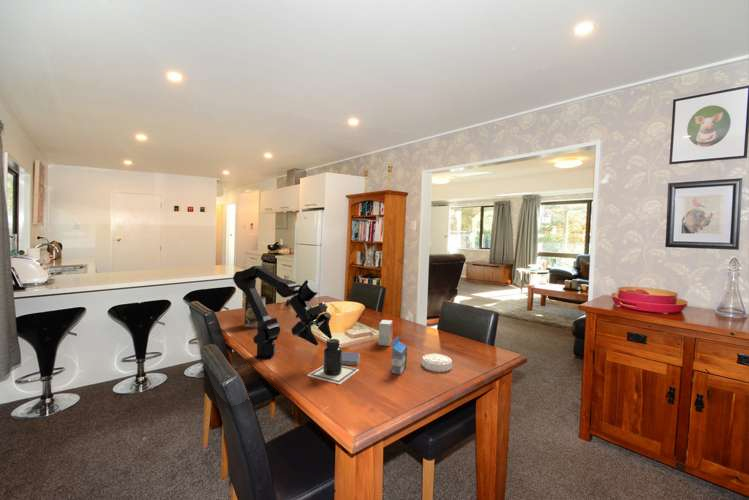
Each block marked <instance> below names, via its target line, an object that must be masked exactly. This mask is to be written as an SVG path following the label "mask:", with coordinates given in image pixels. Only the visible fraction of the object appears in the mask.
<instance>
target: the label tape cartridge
mask: <svg viewBox="0 0 749 500" xmlns="http://www.w3.org/2000/svg"><path fill="white" fill-rule="evenodd" d="M391 344H392V345H391V346H392V352H391V353H392V354H391V372H390V373H391V374H394V375H399V376H400V375H401V374H402V373H403V372H404V370H405V369H406V368H407V363H408V362H407V358H408V346H407V345H405V343H402V342H401V341H400V336H399V335H397V336H396V337H395V338H394V339H392V342H391Z"/></svg>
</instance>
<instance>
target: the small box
mask: <svg viewBox="0 0 749 500" xmlns="http://www.w3.org/2000/svg"><path fill="white" fill-rule="evenodd" d="M393 325H394V321H393V320H391V319H381V321H380V322H379V323H378V346H388V347H390V346H391V344H392V341H393Z"/></svg>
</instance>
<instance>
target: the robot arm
mask: <svg viewBox="0 0 749 500" xmlns="http://www.w3.org/2000/svg"><path fill="white" fill-rule="evenodd" d="M232 279H233V280H232V281H233V282H234V284H235V286H236V287H237V288H238V289H239V290H240V291H241V292H243V293H244V295H245V298H246V297H247V300H248V302H249V304H250V306H251V308H252V310H253V312H254V315H255V317H256V319H257V321H258V324H257V328H256V331H257V333H256V335H255V336H254V337H253V338H252V339H253V343H254V344H256V355H255V359H272V358H273V357H274V355H275V354H276V344H275V341H276V340H278V338H279V335H280V332H281V328H280V326H281V325H280V324H279V322H278V319H277V318H276V317H273V318H272V317H271V316H270V315H269V313H268V310H267V308H266V305H265V306H264V304H263V302H262V300H261V298H260V297H261V296H260V294H259V292H258V290H257V288H256V287H257V284H256V283H257V279H260V280H261V281H263V282H264V283H266V284H268V285H269V286H271V287H272V288H274V290H275V292H276V293H277V294H278V295H280V296H281V297H282V298H290V299H286V303H285V307H286V308H287V307H292V309H293V311H294V312H295V314H296V315H295V318H296V319H299V320H300V321H298V322H297V323H296V324H294V325H293V326H292V328H291V333H292V336H294V337H297V338H301V339H303V340H305V341H307V342H309V343H310V344H312V345H314V346H318V345H319V343H318V340H317V339H316V336H315V335H314V334H313V332H312V326H316V327H317V329H318V330H319V331H320V332H321V333H323V335H324V336H326V338H328V340H329V339H333V336H332V331H331V329H330V321H331V318H332V315H331V314H330V313H329V312H328V311H327V309H328V307H329V306H328V305H327V304H326V302H325V301H321V302H319V303H318V305H316V306H313V305H309V302H311V301H312V300H313V299H314V298H315V297H316V296H317V295H318V294H319V293H320V291H321V289H320V287H319V285H318V284H316V283H315V282H313V281H312V280H311V279H306V280H305V281H303V283H302V284H301V285H300V284H298V283H297V282H296V281H293V280H291V279H287V278H286V279H285V278H282V277H280V276H279V275H277V274H275V273H274V272H272V271H270V270H269V269H267V268H265V267H264V266H263V265H253V266H250V267H249V268H246V269H244V270H243V269H242V270H241V271H239V270H237V271H236V272H235V273H234V274H233V277H232Z"/></svg>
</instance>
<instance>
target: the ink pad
mask: <svg viewBox="0 0 749 500" xmlns="http://www.w3.org/2000/svg"><path fill="white" fill-rule="evenodd" d="M360 358H361V353H360V352H349V351H347V352H345V351H342V366H359V364H360V363H359V362H360Z"/></svg>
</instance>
